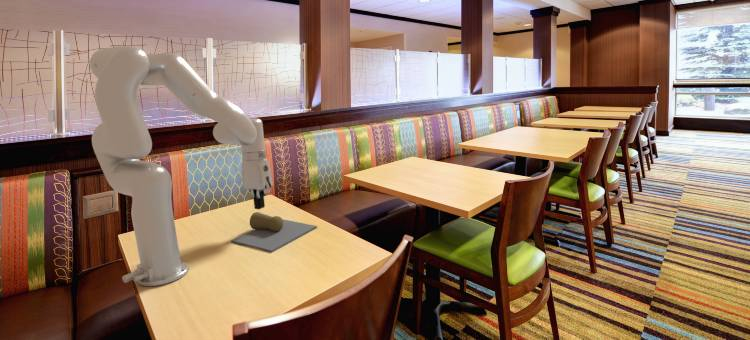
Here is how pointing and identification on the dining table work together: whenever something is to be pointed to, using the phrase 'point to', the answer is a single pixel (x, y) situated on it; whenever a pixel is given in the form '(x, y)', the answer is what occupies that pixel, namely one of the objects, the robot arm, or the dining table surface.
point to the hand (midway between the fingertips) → (259, 207)
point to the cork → (266, 222)
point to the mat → (274, 236)
